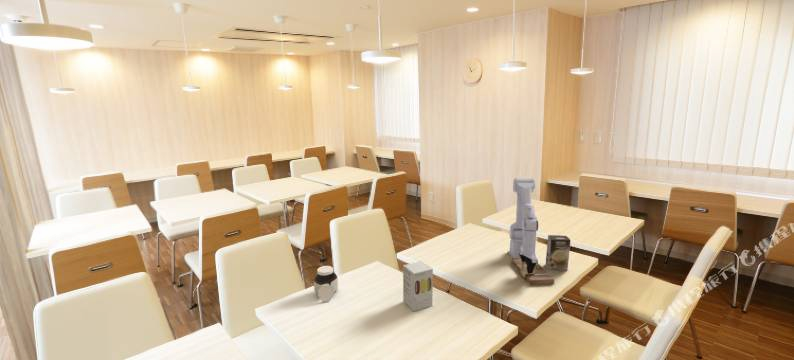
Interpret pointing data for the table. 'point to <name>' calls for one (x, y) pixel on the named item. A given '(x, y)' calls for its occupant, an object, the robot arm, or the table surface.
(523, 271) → the beige block
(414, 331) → the table surface
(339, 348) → the table surface
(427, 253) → the table surface
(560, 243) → the coffee box
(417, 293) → the supplement box
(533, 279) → the walnut board
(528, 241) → the robot arm
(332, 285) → the spread jar
